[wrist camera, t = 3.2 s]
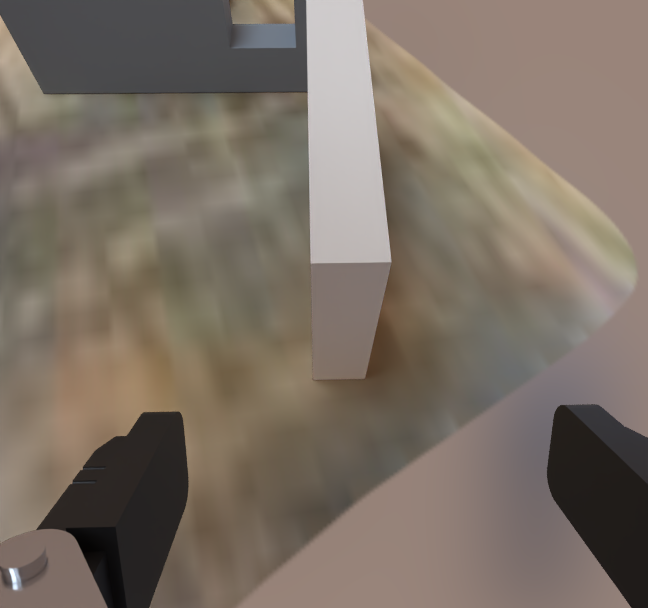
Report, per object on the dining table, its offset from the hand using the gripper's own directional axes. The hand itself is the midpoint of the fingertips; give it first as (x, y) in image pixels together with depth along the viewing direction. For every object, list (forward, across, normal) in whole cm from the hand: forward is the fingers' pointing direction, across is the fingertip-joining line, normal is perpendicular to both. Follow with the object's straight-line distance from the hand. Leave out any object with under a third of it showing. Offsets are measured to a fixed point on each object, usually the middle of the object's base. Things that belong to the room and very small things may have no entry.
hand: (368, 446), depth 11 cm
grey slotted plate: (+28, +9, -11) cm, 32 cm away
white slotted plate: (+18, 0, -2) cm, 19 cm away
